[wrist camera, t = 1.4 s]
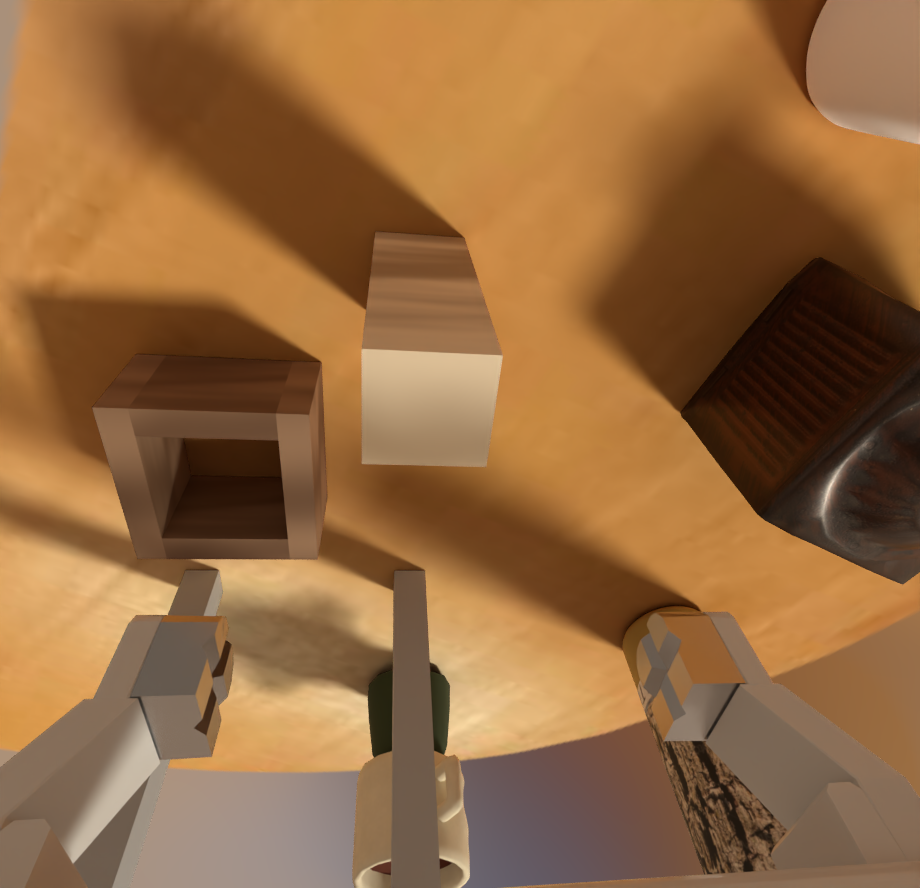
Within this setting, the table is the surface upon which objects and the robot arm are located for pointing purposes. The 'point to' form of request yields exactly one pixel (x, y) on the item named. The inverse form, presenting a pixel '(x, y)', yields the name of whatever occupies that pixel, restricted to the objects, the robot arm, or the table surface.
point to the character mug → (377, 793)
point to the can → (868, 66)
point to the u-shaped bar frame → (412, 751)
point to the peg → (427, 355)
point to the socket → (216, 417)
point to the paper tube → (709, 789)
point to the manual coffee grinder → (825, 418)
